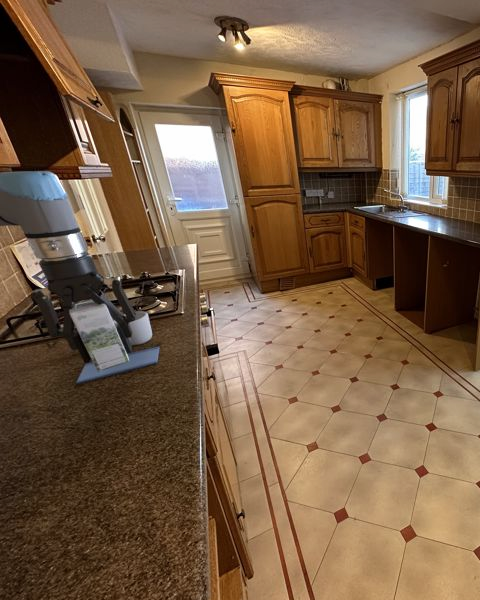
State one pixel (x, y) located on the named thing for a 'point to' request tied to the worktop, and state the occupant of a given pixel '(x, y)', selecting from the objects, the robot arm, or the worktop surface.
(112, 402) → the worktop surface
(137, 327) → the cup
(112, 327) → the syrup box
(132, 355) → the cloth
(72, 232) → the robot arm
